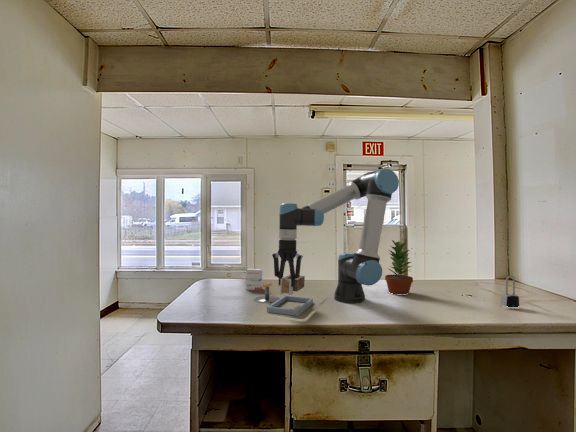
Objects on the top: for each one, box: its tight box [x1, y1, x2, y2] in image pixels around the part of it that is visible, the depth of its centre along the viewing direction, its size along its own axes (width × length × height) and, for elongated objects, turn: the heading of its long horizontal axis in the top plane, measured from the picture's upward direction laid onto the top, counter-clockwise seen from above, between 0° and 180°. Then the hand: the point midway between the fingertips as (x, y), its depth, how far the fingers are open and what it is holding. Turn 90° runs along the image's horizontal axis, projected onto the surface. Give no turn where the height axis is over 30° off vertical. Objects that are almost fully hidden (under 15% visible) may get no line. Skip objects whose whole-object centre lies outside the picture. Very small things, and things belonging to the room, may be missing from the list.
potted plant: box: [384, 239, 414, 295], centre depth 172 cm, size 15×15×30 cm
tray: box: [266, 295, 314, 319], centre depth 139 cm, size 14×21×3 cm, turn 159°
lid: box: [253, 281, 281, 304], centre depth 151 cm, size 13×13×9 cm
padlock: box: [500, 275, 520, 307], centre depth 146 cm, size 7×4×15 cm, turn 93°
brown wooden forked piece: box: [281, 274, 306, 294], centre depth 140 cm, size 16×7×5 cm, turn 159°
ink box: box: [245, 268, 263, 291], centre depth 173 cm, size 9×5×12 cm, turn 84°
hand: (286, 293), depth 134 cm, fingers closed on brown wooden forked piece, 3 cm apart
